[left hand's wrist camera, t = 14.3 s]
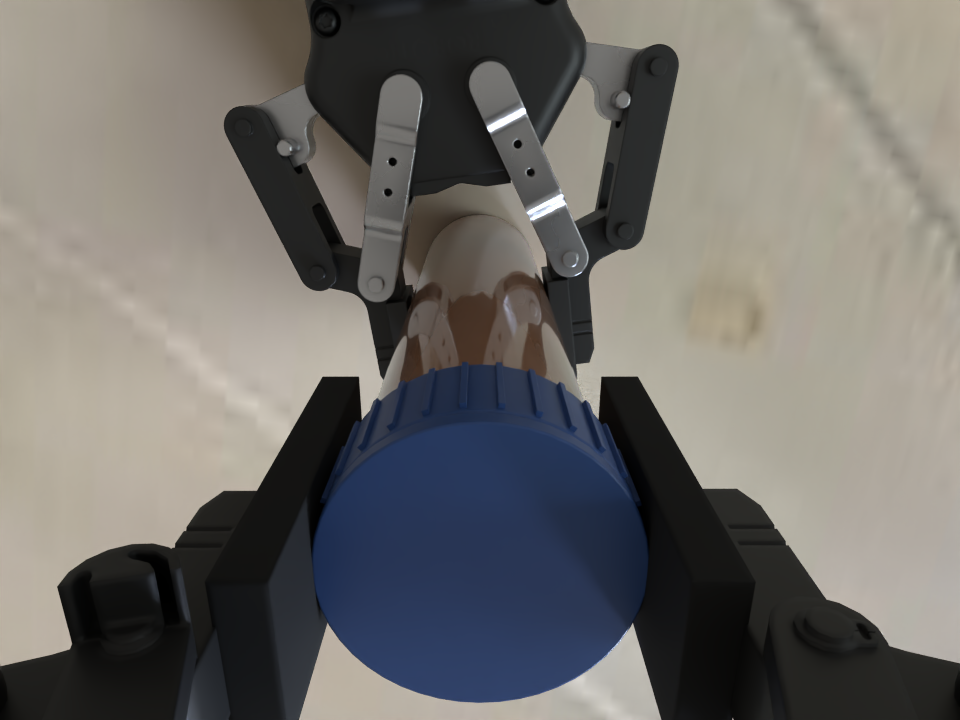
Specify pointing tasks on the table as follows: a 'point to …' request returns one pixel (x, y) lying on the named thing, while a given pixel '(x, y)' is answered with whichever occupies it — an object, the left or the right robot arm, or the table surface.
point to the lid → (480, 537)
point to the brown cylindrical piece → (480, 308)
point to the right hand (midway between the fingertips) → (489, 381)
